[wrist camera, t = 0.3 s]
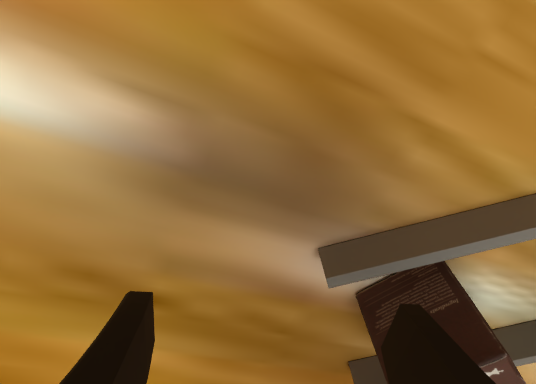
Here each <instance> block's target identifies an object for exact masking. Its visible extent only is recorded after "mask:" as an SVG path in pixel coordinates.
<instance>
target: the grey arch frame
mask: <svg viewBox="0 0 536 384" xmlns="http://www.w3.org/2000/svg"><path fill="white" fill-rule="evenodd" d="M532 239H536V194H533V195H529V196H525V197H521V198H517V199H514V200H510V201H506V202H502V203H498V204H494V205H490V206H486V207H482V208H478V209H474V210H470V211H466V212H462V213H458V214H454V215H450V216H446V217H442V218H438V219H434V220H430V221H426V222H422V223H418V224H414V225H410V226H406V227H402V228H398V229H394V230H390V231H386V232H382V233H378V234H374V235H370V236H366V237H362V238H358V239H354V240H350V241H347V242H343V243H339V244H335V245H331V246H327V247H323V248H319V249H318V250H319V254H320V258H321V261H322V265H323V269H324V273H325V276H326V280H327V284H328V287H329V288H333V287H337V286H341V285H346V284H350V283H354V282H358V281H362V280H366V279H370V278H375V277H379V276H383V275H387V274H391V273H395V272H400V271H404V270H408V269H412V268H416V267H420V266H424V265H429V264H433V263H437V262H441V261H445V260H449V259H453V258H458V257H462V256H466V255H470V254H474V253H478V252H482V251H487V250H491V249H495V248H499V247H503V246H507V245H511V244H516V243H520V242H524V241H528V240H532ZM492 331H493V332H494V334H495V335H496V337H497V338H498V340H499V341H500V343H501V344H502V345H503V347H504V348H505V350H506V351H507V353H508V354H509V356H510V357H511V359H512V360H513V363H514V364H515V366H521V365H526V364H530V363H535V362H536V320H535V321H530V322H526V323H521V324H517V325H512V326H508V327H503V328H499V329H494V330H492ZM349 366H350V370H351V374H352V377H353V381H354V384H387V381H386V379H385V377H384V373H383V371H382V368H381V365H380V362H379V359H378V356H373V357H368V358H364V359H359V360H355V361H350V362H349Z"/></svg>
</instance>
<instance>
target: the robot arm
mask: <svg viewBox="0 0 536 384" xmlns="http://www.w3.org/2000/svg"><path fill="white" fill-rule="evenodd" d="M154 342H155V336H154V311H153V292H135V291H130V292H128V293H127V294H126V295H125V297H124V298H123V300H122V301H121V303H120V305H119V306H118V308H117V309H116V311H115V312H114V314H113V315H112V317H111V318H110V319H109V321H108V322H107V324H106V325H105V326H104V328H103V329H102V331H101V332H100V333H99V335H98V336H97V337H96V339H95V340H94V341H93V343H92V344H91V345H90V347H89V348H88V349H87V350H86V352H85V353H84V354H83V356H82V357H81V358H80V359H79V361H78V362H77V363H76V365H75V366H74V367H73V368H72V369H71V371H70V372H69V373H68V374H67V375H66V376H65V378H64V379H63V380H62V381H61V382H60V384H146V383H147V379H148V374H149V369H150V364H151V358H152V353H153V347H154ZM381 351H382V356H383V360H384V365H385V369H386V373H387V377H388V381H389V384H496V383H495V382H494V381H493V380H492V379H491V378H490V377H489V376H488V375H487V374H486V373H485V372H484V371H483V370H482V369H481V368H480V367H479V366H478V365H477V364H476V363H475V362H474V361H473V360H472V359H471V358H470V357H469V356H468V355H467V354H466V353H465V352H464V351H463V350H462V348H461V347H460V346H459V345H458V344H457V343H456V342H455V341H454V340H453V339H452V338H451V337H450V336H449V335H448V334H447V333H446V332H445V331H444V329H443V328H442V327H441V326H440V325H439V324H438V323H437V322H436V321H435V320H434V319H433V318H432V317H431V316H430V315H429V314H428V313H427V312H426V311H425V310H424V309H423V307H422V306H421V305H420V304H400V305H399V307H398V310H397V312H396V314H395V316H394V319H393V321H392V323H391V326H390V328H389V330H388V332H387V335H386V337H385V339H384V341H383V344H382V346H381Z"/></svg>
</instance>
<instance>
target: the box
mask: <svg viewBox="0 0 536 384" xmlns="http://www.w3.org/2000/svg"><path fill="white" fill-rule="evenodd" d="M356 298H357V300H358V303H359V306H360V309H361V312H362V315H363V318H364V320H365V323H366V326H367V329H368V332H369V335H370V337H371V340H372V343H373V346H374V348H375V351H376V354H377V356H378V359H379V362H380V365H381V368H382V371H383V373H384V377H385V379H386V381H387V384H389V381H388V377H387V373H386V369H385V365H384V360H383V356H382V351H381V346H382V344H383V341H384V339H385V337H386V335H387V332H388V330H389V328H390V326H391V323H392V321H393V319H394V316H395V314H396V312H397V310H398V307H399V305H400V304H420V305H421V306H422V307H423V309H424V310H425V311H426V312H427V313H428V314H429V315H430V316H431V317H432V318H433V319H434V320H435V321H436V322H437V323H438V324H439V325H440V326H441V327H442V328H443V329H444V331H445V332H446V333H447V334H448V335H449V336H450V337H451V338H452V339H453V340H454V341H455V342H456V343H457V344H458V345H459V346H460V347H461V348H462V350H463V351H464V352H465V353H466V354H467V355H468V356H469V357H470V358H471V359H472V360H473V361H474V362H475V363H476V364H477V365H478V366H479V367H480V368H481V369H482V370H483V371H484V372H485V373H486V374H487V375H488V376H489V377H490V378H491V379H492V380H493V381H494V382H495V383H496V384H526V382H525V381H524V380H523V378H522V377H521V375H520V373H519V371H518V370H517V368H516V366H515V364H514V363H513V360H512V359H511V357H510V356H509V354H508V353H507V351H506V350H505V348H504V347H503V345H502V344H501V343H500V341H499V340H498V338H497V337H496V335H495V334H494V332H493V331H492V329H491V328H490V326H489V325H488V323H487V322H486V320H485V319H484V318H483V316H482V315H481V313H480V312H479V310H478V309H477V307H476V306H475V304H474V303H473V301H472V300H471V299H470V297H469V296H468V294H467V293H466V291H465V290H464V288H463V287H462V286H461V284H460V283H459V281H458V280H457V278H456V277H455V276H454V274H453V273H452V271H451V270H450V268H449V267H448V266H447V264H446V263H445V261H441V262H437V263H433V264H429V265H424V266H420V267H416V268H412V269H408V270H404V271H400V272H399V273H397V274H395V275H393V276H391V277H389V278H387V279H385V280H383V281H381V282H379V283H377V284H375V285H373V286H371V287H369V288H367V289H365V290H363V291H361V292H360V293H358V294H357V295H356Z"/></svg>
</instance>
